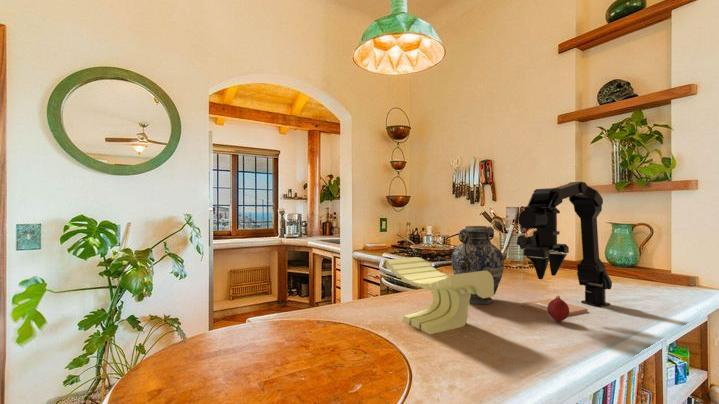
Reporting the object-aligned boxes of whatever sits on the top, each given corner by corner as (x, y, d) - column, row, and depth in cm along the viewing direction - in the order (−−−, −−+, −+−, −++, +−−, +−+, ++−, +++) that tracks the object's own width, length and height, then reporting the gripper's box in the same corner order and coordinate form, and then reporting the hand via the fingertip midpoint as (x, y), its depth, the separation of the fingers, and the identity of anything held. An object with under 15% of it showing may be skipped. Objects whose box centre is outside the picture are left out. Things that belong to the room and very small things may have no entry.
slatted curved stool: (494, 333, 95) (493, 269, 95) (451, 345, 87) (450, 275, 87) (424, 306, 121) (424, 256, 121) (386, 313, 113) (386, 259, 114)
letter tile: (549, 301, 126) (549, 297, 126) (587, 311, 113) (587, 308, 113) (521, 305, 121) (521, 302, 121) (558, 317, 108) (558, 313, 108)
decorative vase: (485, 311, 114) (483, 227, 115) (440, 300, 129) (438, 226, 129) (516, 300, 127) (514, 225, 128) (472, 292, 142) (470, 224, 143)
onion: (572, 326, 100) (572, 298, 100) (551, 324, 101) (551, 297, 101) (565, 319, 106) (564, 293, 106) (544, 318, 107) (544, 292, 107)
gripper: (534, 225, 120) (534, 270, 120) (507, 227, 109) (507, 277, 108) (569, 227, 111) (569, 275, 111) (543, 229, 100) (544, 283, 99)
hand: (547, 277), depth 108 cm, fingers open, 9 cm apart
